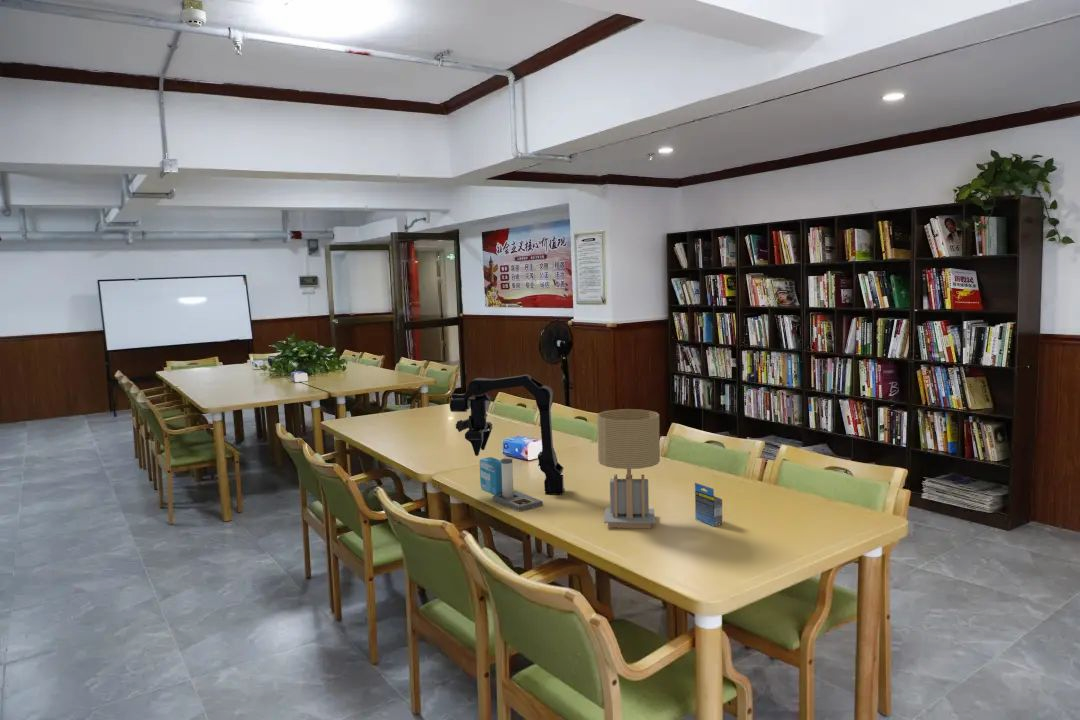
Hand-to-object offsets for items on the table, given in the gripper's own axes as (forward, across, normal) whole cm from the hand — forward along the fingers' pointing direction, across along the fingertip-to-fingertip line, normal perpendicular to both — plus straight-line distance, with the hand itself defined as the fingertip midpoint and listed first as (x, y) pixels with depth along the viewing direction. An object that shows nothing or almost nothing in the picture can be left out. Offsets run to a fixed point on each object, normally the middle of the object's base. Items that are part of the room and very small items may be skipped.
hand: (479, 452), depth 269 cm
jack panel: (+15, +13, +17) cm, 26 cm away
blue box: (+15, 0, +5) cm, 16 cm away
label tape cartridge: (+15, +29, +82) cm, 88 cm away
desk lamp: (+15, +31, +57) cm, 67 cm away
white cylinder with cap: (+15, +11, +13) cm, 22 cm away
